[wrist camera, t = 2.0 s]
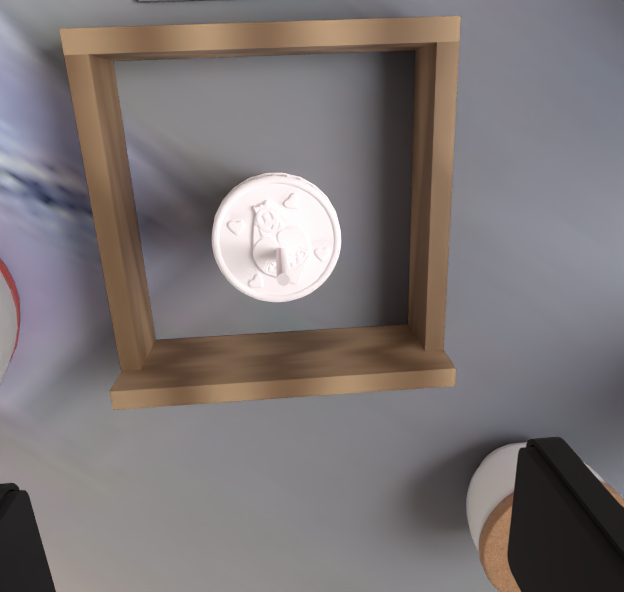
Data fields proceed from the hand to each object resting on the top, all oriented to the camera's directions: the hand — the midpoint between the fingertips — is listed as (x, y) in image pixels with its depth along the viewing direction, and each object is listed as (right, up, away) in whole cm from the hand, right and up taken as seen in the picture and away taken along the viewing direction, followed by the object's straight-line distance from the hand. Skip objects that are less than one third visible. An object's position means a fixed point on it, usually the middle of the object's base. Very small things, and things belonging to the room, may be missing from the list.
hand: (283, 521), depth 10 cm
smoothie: (-2, +10, +25) cm, 27 cm away
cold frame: (-2, +10, +25) cm, 27 cm away
